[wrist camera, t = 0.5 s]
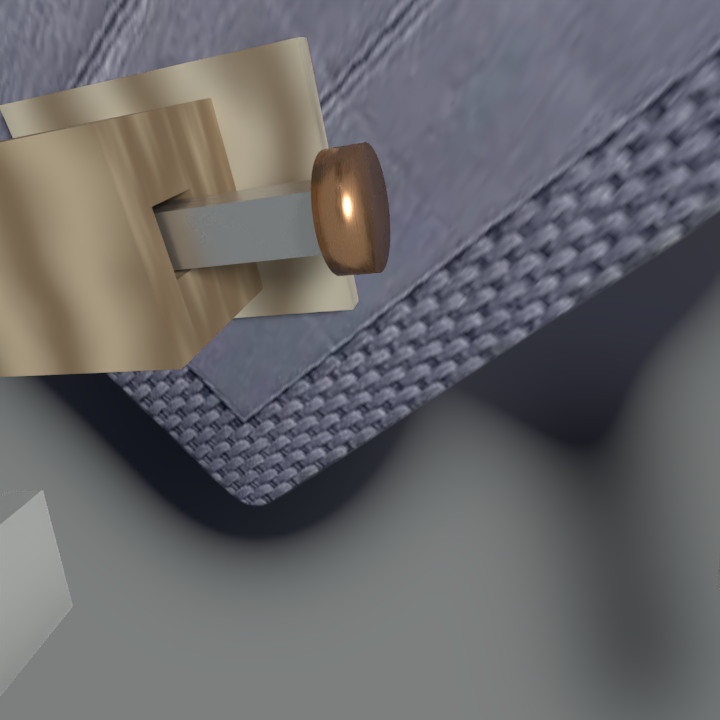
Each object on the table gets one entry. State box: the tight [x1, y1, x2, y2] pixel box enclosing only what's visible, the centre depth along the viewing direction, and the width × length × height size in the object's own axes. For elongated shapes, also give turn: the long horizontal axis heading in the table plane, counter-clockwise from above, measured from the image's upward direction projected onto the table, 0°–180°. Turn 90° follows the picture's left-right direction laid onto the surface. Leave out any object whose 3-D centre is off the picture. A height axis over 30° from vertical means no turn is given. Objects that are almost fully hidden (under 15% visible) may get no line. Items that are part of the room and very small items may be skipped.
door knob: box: [152, 142, 390, 276], centre depth 30 cm, size 16×6×6 cm, turn 101°
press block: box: [0, 37, 359, 377], centre depth 34 cm, size 21×16×12 cm
